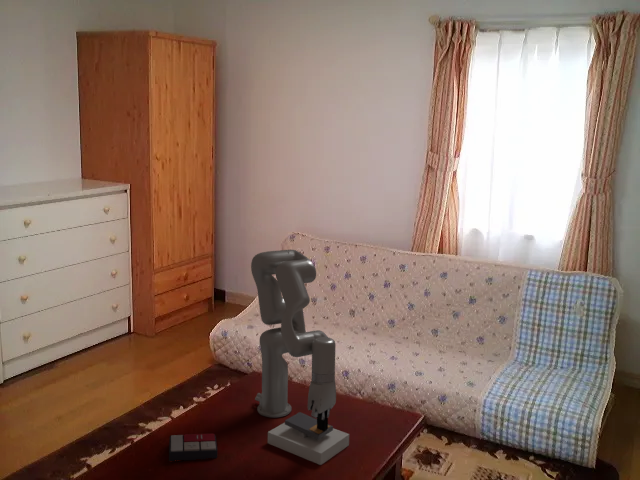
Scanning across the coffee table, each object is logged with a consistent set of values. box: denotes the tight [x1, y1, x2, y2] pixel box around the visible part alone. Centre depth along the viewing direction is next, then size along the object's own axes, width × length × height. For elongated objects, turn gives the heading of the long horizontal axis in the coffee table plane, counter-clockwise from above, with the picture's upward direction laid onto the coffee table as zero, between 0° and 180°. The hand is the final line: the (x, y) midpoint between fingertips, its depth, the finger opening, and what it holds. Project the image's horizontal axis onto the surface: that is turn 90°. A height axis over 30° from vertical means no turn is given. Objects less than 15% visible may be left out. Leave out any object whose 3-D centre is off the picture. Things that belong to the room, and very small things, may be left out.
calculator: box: [168, 433, 218, 462], centre depth 205 cm, size 11×4×15 cm
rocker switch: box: [284, 411, 334, 440], centre depth 211 cm, size 14×8×2 cm, turn 54°
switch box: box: [267, 422, 350, 466], centre depth 211 cm, size 22×16×6 cm
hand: (322, 428), depth 207 cm, fingers closed
